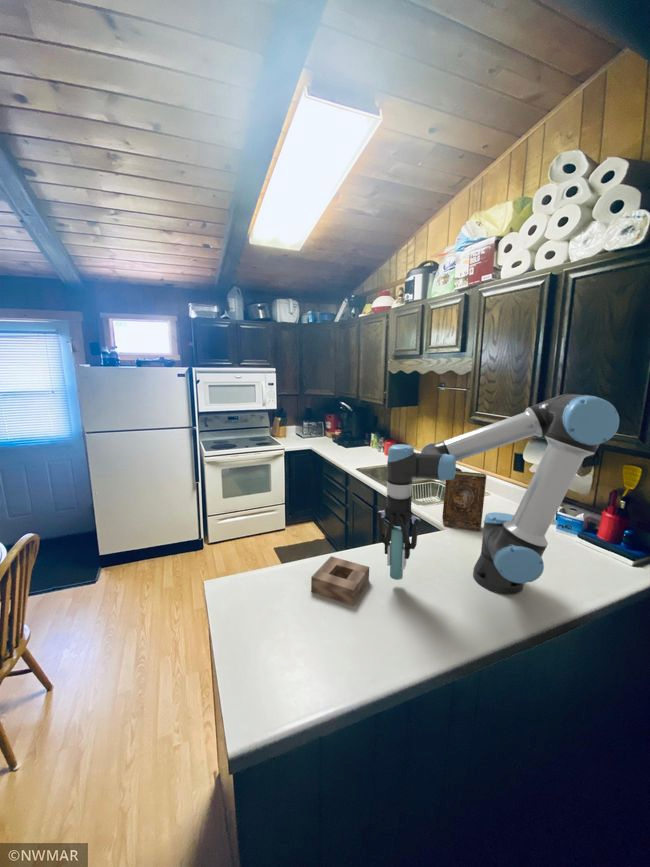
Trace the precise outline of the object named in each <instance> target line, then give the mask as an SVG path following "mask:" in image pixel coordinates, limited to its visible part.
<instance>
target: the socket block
mask: <svg viewBox="0 0 650 867" xmlns="http://www.w3.org/2000/svg"><path fill="white" fill-rule="evenodd" d="M310 578H311V580H310V581H311V582H310V583H311V584H310V586H311V587H310V592H312V593H315V594H316V595H317V594H318V595H321V596H324V597H326V598H329V599H332V600H335V601H338V602H341V603H344V604H347V605H349V606H354V605H355V603H356V601H357V600H358V598H359V597H360V595H361V594H362V592H363V591H364V589H365V587H366V586H367V584H368V583H369V581H370V566H368V565H363V564H361V563H356V562H353V561H351V560H350V561H349V560H345V559H341V558H338V557H335V556H330V557H328V558H327V560H326V561H325V562H324V563H323V564H322V565H321V566H320V567H319V568H318V569H317V570H316V571H315V573H314V574H312V575H311V577H310Z"/></svg>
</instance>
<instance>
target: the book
mask: <svg viewBox="0 0 650 867" xmlns="http://www.w3.org/2000/svg"><path fill="white" fill-rule="evenodd" d="M486 482H487V475H486V474H485V473H480V472H472V471H471V472H470V471H460V470H456V472H455V477H454V479H452V480H445V483H444V485H445V486H444V496H443V507H442V519H441V520H442V525H443V526H444V527H448V528H451V529H452V528H453V529H461V530H468V531H476V532H480V531H481V530H482V522H483V512H484V504H485V494H486V493H485V492H486V485H487V483H486Z"/></svg>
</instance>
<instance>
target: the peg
mask: <svg viewBox="0 0 650 867" xmlns="http://www.w3.org/2000/svg"><path fill="white" fill-rule="evenodd" d="M390 543H391V557H390V566H389V576H390V578H391V579H393V580H396V581H399V580H402V579H403V577H404V575H403V574H404V569H402V549H403V548H404V540H403V534H402V529H401V526H400V525H398V526H397V525H394V527H393V529H392V531H391V541H390Z"/></svg>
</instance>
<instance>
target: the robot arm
mask: <svg viewBox="0 0 650 867" xmlns="http://www.w3.org/2000/svg"><path fill="white" fill-rule="evenodd" d="M619 426H620V416H619V413H618V410H617V409H616V407H615V406H614V405H613V404H612V403H611V402H609V401H608V400H606V399H603V398H601V397H598V396H596V395H595V396H594V395H590V394H589V395H588V394H584V395H583V394H578V393H577V394H576V393H575V394H574V393H564V394H561V395H557V396H555V397H552V398H549V399H547V400H544V401H542V402H539V403H537V404H534V405H532V406H528V407H527V408H525V410H524V412H521V413H519V414H516V415H513V416H511V417H507V418H504V419H502V420H499V421H496V422H493V423H490V424H488V425H485V426H482V427H480V428H475V429H474V430H470V431H468V432H465V433H462V434H460V435H456V436H454V437H451V438H448V439H445V440H443V441H439V442H436V443H432V442H431V443H427V444H426V445H425V446H423V448H422V449H421V451H420V453H419V452H415V451H414V450H415V449H414V447H413V446H412V445H409V444H404V443H403V444H392V445H390V446H389V448H388V449H387V451H388V452H387V463H386V464H387V467H386V468H387V470H386V472H387V474H386V475H387V477H386V479H387V480H386V494H387V495H386V506H385V509H384V510H381V509H380V510H378V511H377V513H376V517H377V518H378V542H379V543H382V544H383V545H384V554H385V555H387V558H386V559H387V562H386V563H387V564H386V566H389V567H390V557H391V531H392V529H393V527H395V525H398V526H400V527H401V529H402V534H403V540H404V548H403V549H402V569H403V570H405V568H406V567H407V560H409V558H410V556H411V550H415V548H416V546H417V542H418V530H419V523H420V522H421V519H422V518H421V517H420V516H416V515H414V514H413V511H412V494H413V478H415V479H425V480H438V481H446V480H452V479H454V477H455V472H456V471H457V463H456V462H458V461H461V460H464V459H467V458H470V457H473V456H476V455H479V454H482V453H486V452H488V451H491V450H495V449H498V448H499V447H504V446H506V445H509V444H513V443H515V442H519V441H523V440H525V439H527V438H531V437H534V436H535V437H538V438H542V437H544V438H545V440H546V443H547V446H546V449H545V451H544V453H543V455H542V457H541V458H540V462H539V463H538V465H537V467H536V469H535V472H534V474H533V475H532V478H531V480H530V482H529V484H528V486H527V488H526V491H524V492H525V493H524V495H523V496H522V498H521V501H520V503H519V504H518V507H517V509H516V512H515V513H514V514H510V513H505V512H488V513H486V515H485V516H484V521H483V530H482V540H481V548H480V549H481V551H480V554H479V557H478V559H477V561H476V563H475V564H474V567H473V569H472V570H473V572H472V577H473V579H474V580H475V582H476V583H478V585H481V587H483V588H485V589H487V590H489V591H491V592H495V593H497V594H503V595H516V594H520V593H521V592H523V590H524V586H525V585H524V584H526V583H533V582H535V581H536V580H538V579H539V578H540V577H541V576H542V574H543V573H544V568H545V565H544V560H543V558H542V556H543V554H544V553H545V550H546V548H547V546H548V544H549V543H548V540H547V539H546V534H547V531H548V530H549V528H550V526H551V525H552V522H553V520H554V518H555V516H556V515H557V512H558V510H559V509H560V507H561V504H562V502H563V501H564V499H565V497H566V495H567V492H568V491H569V489H570V486H571V485H572V483H573V481H574V478H575V477H576V475H577V473H578V471H579V469H580V467H581V465H582V463H583V461H584V459H585V458H586V457H589V456H593V455H595V454H596V452H597V450H598V448H599V446H600V445H601V444H603V443H605V442H607V441H610V439H612V438H613V437H614V436H615V434H616V433H617V432H618V429H619ZM385 517H387V519H388V520H389V522H388V526H387V531H386V530H385V528H386V526H385V524H386V523H385V522H386V521H385V520H386V519H385ZM410 520H411V523H412V526H411V527H412V529H411V530H412V531H411V540H410V534H409V528H408V522H409V521H410ZM385 531H386V533H385Z"/></svg>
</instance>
